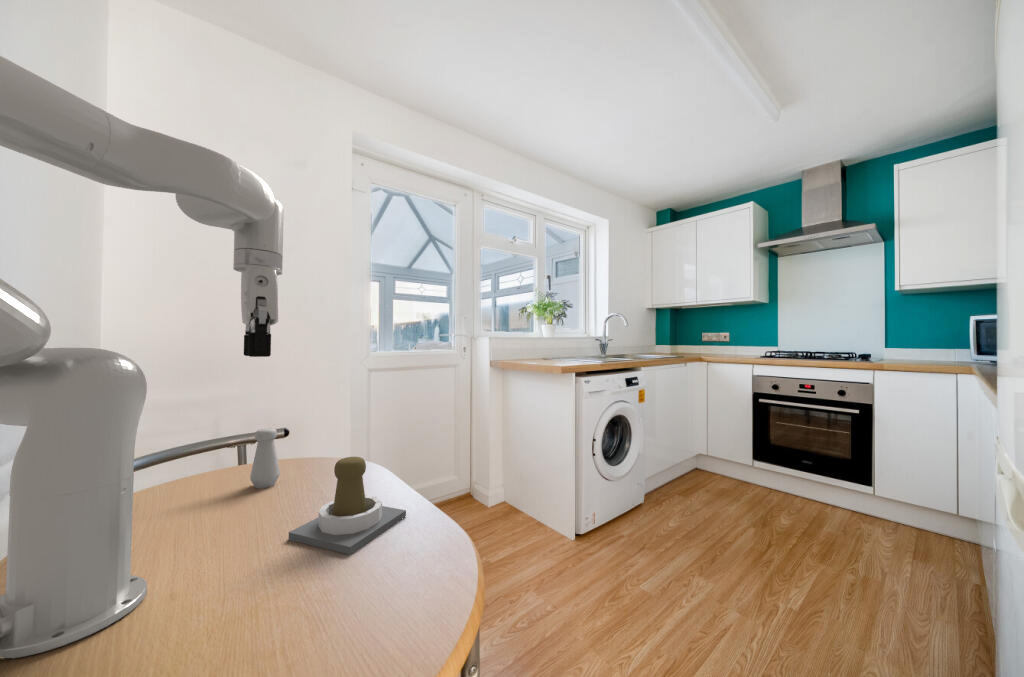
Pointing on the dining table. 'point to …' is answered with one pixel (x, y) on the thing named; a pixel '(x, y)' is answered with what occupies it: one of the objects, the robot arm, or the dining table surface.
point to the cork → (349, 487)
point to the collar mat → (348, 539)
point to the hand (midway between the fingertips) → (256, 356)
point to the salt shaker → (265, 459)
